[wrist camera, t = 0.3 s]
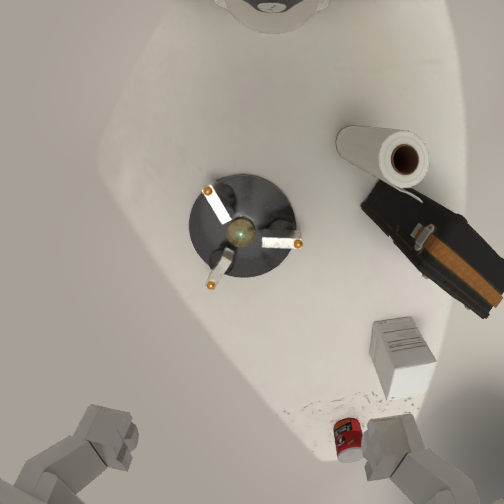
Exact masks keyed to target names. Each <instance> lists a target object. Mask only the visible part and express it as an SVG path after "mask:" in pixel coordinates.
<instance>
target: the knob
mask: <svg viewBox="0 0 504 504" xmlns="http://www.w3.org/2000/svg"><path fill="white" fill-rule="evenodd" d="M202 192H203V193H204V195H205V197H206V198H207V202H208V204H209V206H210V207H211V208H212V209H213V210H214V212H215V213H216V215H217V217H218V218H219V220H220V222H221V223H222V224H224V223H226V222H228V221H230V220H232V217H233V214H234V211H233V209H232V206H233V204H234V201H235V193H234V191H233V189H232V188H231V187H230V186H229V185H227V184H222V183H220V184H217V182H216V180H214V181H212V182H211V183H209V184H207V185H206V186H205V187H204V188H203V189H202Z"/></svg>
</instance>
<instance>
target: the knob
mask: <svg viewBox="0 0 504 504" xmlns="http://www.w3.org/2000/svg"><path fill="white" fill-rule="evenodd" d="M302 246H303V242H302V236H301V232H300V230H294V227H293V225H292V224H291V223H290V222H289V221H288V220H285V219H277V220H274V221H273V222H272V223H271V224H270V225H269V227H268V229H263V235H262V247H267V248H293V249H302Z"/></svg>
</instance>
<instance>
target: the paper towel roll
mask: <svg viewBox="0 0 504 504" xmlns="http://www.w3.org/2000/svg"><path fill="white" fill-rule="evenodd" d="M336 147H337V150H338V152H339V154H340V155H341V156H342V157H343V158H344V159H346V160H347V161H349V162H350V163H351V164H353V165H355V166H357V167H359V168H361V169H363V170H364V171H366V172H368V173H370V174H372V175H373V176H375V177H377V178H379V179H380V180H382V181H384V182H386V183H387V184H389V185H391V186H392V187H394V188H396V189H398V190H399V191H401V192H405V193H407V194H409V195H410V196H412V197H414V198H415V199H417V200H419V201H420V202H422V201H421V200H420V198H418V197H417V196H415V195H413V194H412V193H410V192H408V191H406V190H405V189H403V188H411V187H412V186H414V185H416V184H418V183H420V182H421V180H422V179H423V178H424V177H425V176H426V173H427V170H428V167H429V152H428V150H427V147H426V144H425V143H424V142H423V141H422V140H421V138H420V137H419V136H418V135H416V134H414V133H412V132H410V131H405V130H396V129H386V128H376V127H364V126H348V127H346V128H344V129H342V130H341V132H340V133H339V134H338V136H337V140H336ZM422 203H423V202H422Z"/></svg>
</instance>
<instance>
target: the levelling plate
mask: <svg viewBox="0 0 504 504" xmlns="http://www.w3.org/2000/svg"><path fill="white" fill-rule="evenodd" d="M216 182H217V184H220V183H222V184H227V185H229V186H230V187H231V188H232V189H233V191H234V193H235V201H234V204H233V206H232V209H233V211H234V214H233V217H232V220H230V221H228V222H226V223H224V224H222V223H221V222H220V220H219V218H218V217H217V215H216V213H215V212H214V210H213V209H212V208H211V207H210V206H209V204H208V202H207V198H206V197H205V195H204V193H203V192H202V193H201V195H200V196H199V197H198V199H197V200H196V202H195V204H194V206H193V208H192V211H191V214H190V220H189V231H190V237H191V241H192V243H193V246H194V248H195V250H196V251H197V253H198V254H199V256H200V257H201V258H202V259H203V260H204V261H205V263H207V264H208V265H209V258H210V256H211V254H212V252H213V251H215V250H216V249H220V248H224V249H225V248H226V247H227V248H229V249H231V250H232V251H234V257H235V264H234V268H233V270H232V271H231V272H229V273H228V274H226V275H229V276H233V277H255V276H258V275H262V274H264V273H267V272H269V271H271V270H272V269H274V268H275V267H277V266H278V265H279V264H280V263H281V262H282V261H283V260H284V259H285V258H286V257H287V255H288V254H289V252H290V250H291V248H267V247H262V235H263V229H268V227H269V225H270V224H271V223H272V222H273V221H274V220H277V219H285V220H288V221H289V222H290V223H291V224H292V225H293V227H294V230H296V222H295V216H294V213H293V209H292V207H291V205H290V203H289V201H288V199H287V198H286V196H285V195H284V194H283V193H282V191H280V190H279V189H278V188H277V187H276V186H275V185H273V184H272V183H270V182H268V181H267V180H265V179H262V178H259V177H256V176H252V175H233V176H228V177H225V178H222V179H220V180H218V181H216Z"/></svg>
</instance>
